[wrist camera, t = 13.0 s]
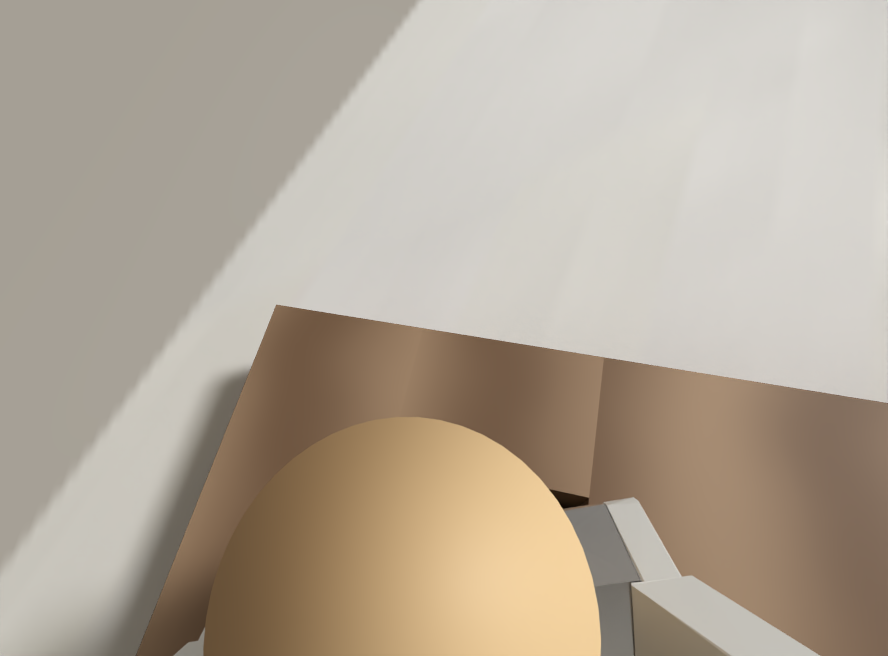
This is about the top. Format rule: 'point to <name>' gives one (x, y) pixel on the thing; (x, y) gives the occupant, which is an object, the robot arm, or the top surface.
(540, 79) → the top surface
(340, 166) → the top surface
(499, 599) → the oak peg
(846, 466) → the walnut board
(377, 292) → the top surface
